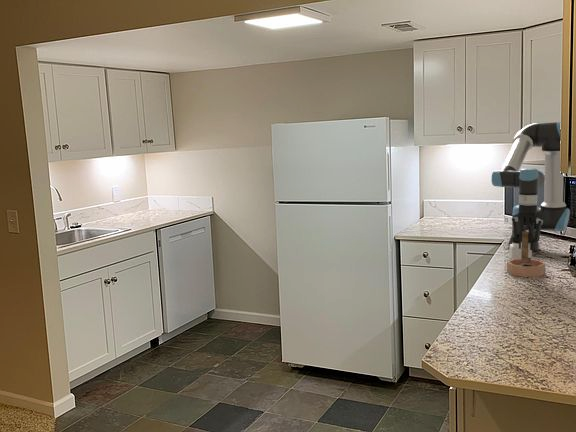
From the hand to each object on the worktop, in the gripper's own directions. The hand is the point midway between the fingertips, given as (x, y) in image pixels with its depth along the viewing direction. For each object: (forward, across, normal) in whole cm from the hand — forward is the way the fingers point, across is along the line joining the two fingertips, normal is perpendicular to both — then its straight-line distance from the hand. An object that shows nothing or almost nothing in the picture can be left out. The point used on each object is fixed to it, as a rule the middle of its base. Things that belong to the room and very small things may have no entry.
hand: (526, 256), depth 261 cm
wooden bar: (+3, 0, 0) cm, 3 cm away
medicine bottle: (+7, -12, +20) cm, 25 cm away
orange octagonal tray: (+7, 0, 0) cm, 7 cm away
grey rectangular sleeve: (+7, 0, 0) cm, 7 cm away
